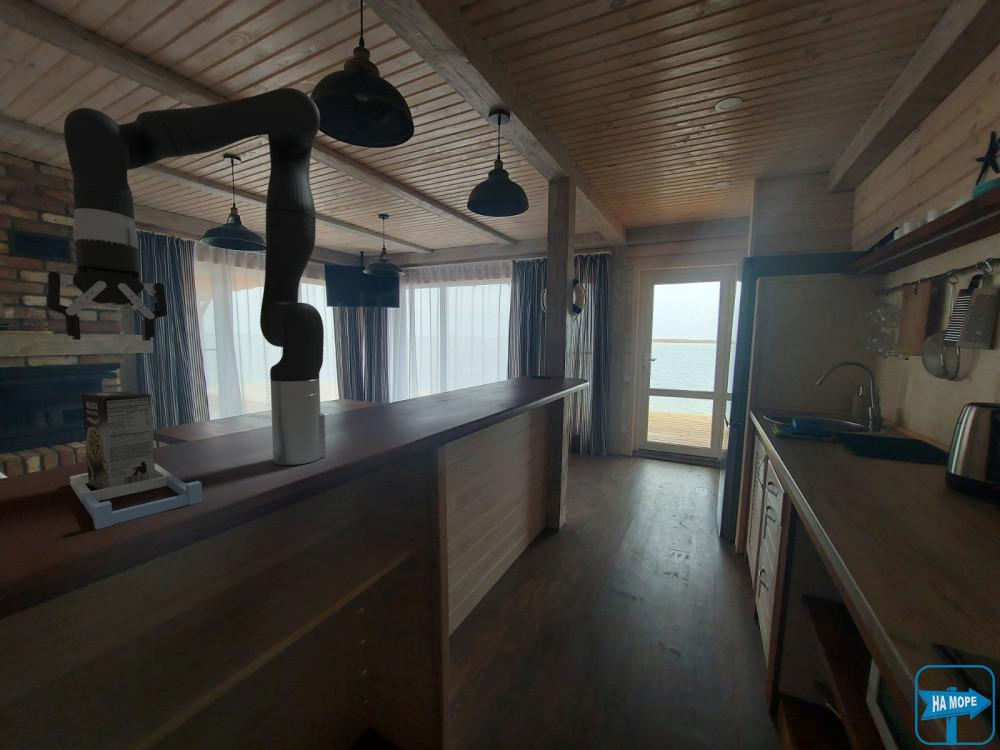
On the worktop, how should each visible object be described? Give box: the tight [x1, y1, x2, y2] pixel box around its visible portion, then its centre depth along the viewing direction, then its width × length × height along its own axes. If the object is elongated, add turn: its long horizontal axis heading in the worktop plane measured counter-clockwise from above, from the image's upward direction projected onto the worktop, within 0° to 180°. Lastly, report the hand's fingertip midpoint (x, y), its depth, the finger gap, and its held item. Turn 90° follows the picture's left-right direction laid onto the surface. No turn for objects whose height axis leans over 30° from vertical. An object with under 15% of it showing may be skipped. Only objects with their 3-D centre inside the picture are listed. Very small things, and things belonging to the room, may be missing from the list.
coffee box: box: [81, 390, 156, 490], centre depth 67 cm, size 9×6×16 cm
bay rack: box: [69, 462, 203, 530], centre depth 64 cm, size 12×27×3 cm, turn 53°
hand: (113, 340), depth 66 cm, fingers open, 8 cm apart
